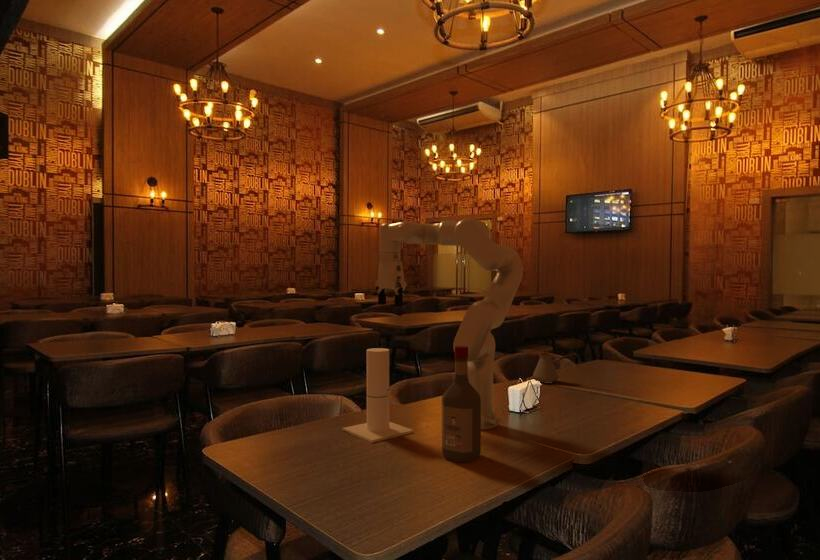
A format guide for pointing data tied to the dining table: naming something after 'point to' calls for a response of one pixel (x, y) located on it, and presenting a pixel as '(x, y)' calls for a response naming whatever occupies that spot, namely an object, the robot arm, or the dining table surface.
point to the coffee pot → (547, 368)
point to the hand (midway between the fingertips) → (390, 305)
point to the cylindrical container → (377, 390)
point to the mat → (373, 437)
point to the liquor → (461, 414)
